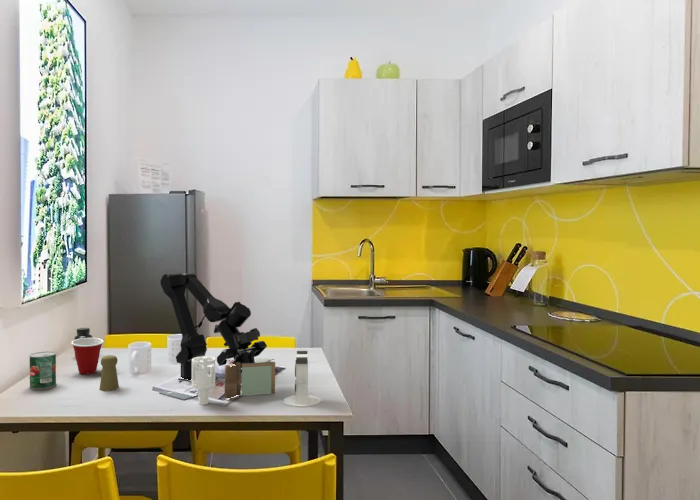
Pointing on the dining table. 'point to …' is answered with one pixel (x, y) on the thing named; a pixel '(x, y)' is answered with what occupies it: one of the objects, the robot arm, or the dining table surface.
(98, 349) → the plastic cup
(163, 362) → the dining table surface
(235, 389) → the fence fixed
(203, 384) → the white stepped cylinder
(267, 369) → the folding section
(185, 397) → the card
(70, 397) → the dining table surface
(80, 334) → the supplement bottle
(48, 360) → the canned tomato
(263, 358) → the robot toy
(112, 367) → the cork
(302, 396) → the white stand
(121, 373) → the dining table surface
